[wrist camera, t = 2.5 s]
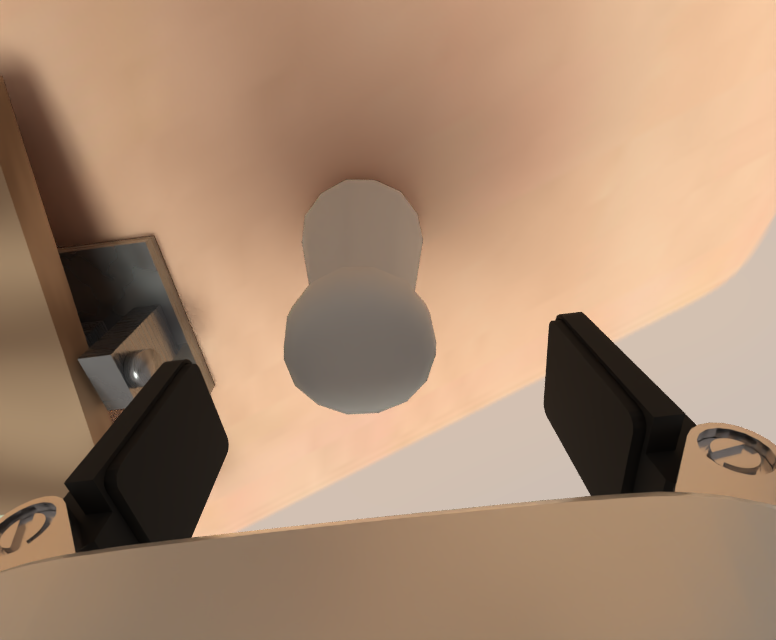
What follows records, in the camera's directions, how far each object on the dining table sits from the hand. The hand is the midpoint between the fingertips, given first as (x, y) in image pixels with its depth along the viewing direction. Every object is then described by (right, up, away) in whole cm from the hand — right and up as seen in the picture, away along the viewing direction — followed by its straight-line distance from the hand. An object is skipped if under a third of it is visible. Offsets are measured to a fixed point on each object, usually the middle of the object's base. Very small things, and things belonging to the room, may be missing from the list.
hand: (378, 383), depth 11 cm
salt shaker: (-1, +7, +11) cm, 13 cm away
